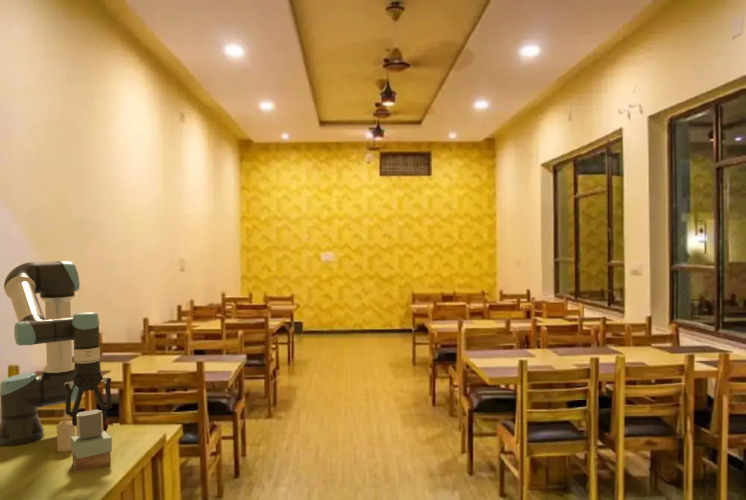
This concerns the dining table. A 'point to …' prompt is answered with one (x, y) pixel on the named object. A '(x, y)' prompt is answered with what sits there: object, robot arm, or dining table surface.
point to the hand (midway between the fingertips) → (89, 433)
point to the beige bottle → (65, 435)
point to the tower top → (91, 445)
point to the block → (90, 423)
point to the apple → (105, 425)
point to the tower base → (91, 462)
